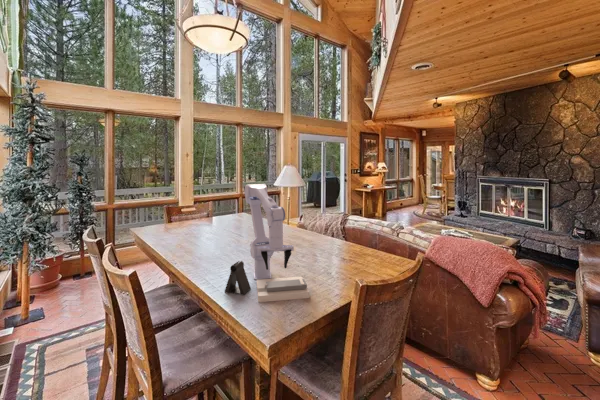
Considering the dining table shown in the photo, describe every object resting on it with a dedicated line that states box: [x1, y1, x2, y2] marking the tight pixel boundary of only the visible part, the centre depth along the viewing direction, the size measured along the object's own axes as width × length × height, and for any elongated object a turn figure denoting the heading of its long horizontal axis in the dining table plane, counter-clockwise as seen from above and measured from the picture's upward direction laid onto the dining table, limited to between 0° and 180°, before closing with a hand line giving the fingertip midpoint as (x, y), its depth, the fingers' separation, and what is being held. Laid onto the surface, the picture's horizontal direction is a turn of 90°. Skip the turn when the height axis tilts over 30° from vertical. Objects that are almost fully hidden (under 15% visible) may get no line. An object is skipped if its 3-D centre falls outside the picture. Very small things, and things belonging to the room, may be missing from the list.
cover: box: [265, 278, 308, 292], centre depth 118 cm, size 6×17×2 cm, turn 101°
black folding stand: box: [224, 260, 252, 296], centre depth 120 cm, size 9×6×12 cm, turn 73°
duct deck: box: [256, 276, 310, 303], centre depth 120 cm, size 16×20×2 cm
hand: (276, 268), depth 121 cm, fingers open, 7 cm apart
